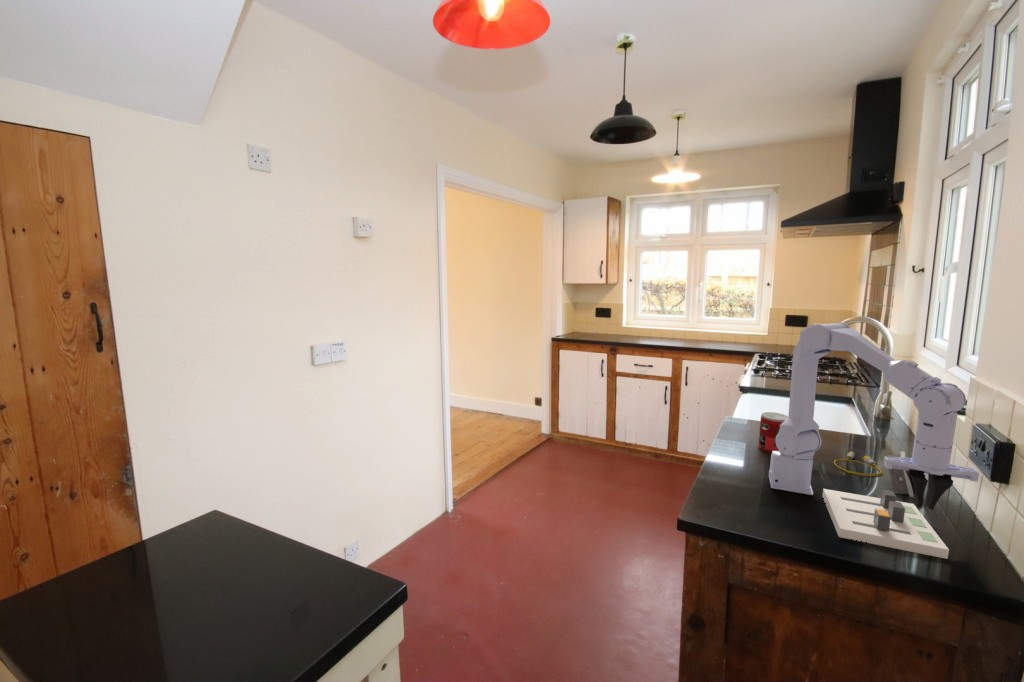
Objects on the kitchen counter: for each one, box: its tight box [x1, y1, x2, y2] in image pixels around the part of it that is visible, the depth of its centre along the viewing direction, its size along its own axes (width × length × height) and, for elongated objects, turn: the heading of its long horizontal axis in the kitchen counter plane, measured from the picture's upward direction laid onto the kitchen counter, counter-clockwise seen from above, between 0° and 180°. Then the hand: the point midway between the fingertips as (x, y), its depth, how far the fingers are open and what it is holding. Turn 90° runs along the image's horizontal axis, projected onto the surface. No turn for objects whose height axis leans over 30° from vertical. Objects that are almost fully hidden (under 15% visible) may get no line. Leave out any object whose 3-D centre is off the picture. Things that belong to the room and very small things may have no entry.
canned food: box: [758, 411, 788, 453], centre depth 148 cm, size 8×8×11 cm
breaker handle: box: [873, 509, 891, 531], centre depth 100 cm, size 2×3×3 cm, turn 155°
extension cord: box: [833, 451, 884, 477], centre depth 136 cm, size 12×16×2 cm
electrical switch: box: [887, 451, 914, 498], centre depth 122 cm, size 9×5×9 cm, turn 141°
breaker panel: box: [822, 488, 950, 560], centre depth 105 cm, size 18×20×5 cm
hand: (923, 506), depth 96 cm, fingers closed
